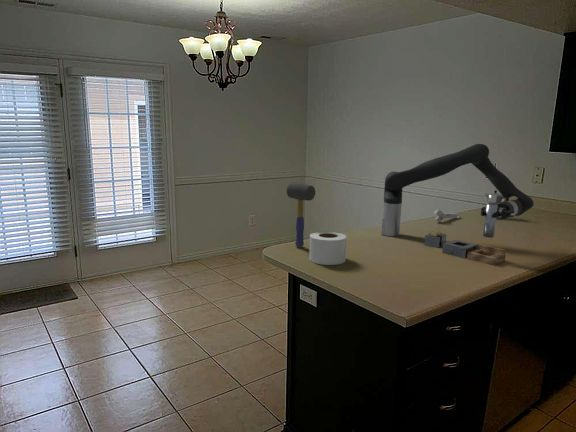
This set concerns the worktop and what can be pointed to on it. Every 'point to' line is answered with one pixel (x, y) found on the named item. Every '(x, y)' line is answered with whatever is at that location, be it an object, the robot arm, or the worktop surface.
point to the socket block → (458, 248)
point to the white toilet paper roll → (327, 248)
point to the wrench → (444, 215)
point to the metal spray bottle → (490, 217)
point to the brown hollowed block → (487, 255)
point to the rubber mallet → (300, 206)
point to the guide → (435, 240)
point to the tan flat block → (438, 231)
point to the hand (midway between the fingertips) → (488, 214)
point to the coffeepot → (498, 199)
